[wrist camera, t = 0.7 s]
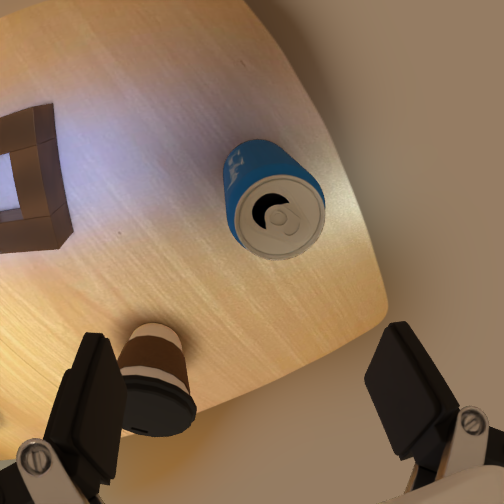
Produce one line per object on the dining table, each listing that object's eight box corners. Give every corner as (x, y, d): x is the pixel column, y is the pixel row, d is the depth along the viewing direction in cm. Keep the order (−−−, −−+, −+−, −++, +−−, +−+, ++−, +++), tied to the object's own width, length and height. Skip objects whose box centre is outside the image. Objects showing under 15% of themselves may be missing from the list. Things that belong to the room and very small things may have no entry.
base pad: (-35, 134, 22) (-56, 141, 18) (53, 103, 23) (32, 106, 19) (-12, 240, 28) (-28, 256, 25) (73, 231, 30) (59, 249, 26)
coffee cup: (183, 374, 42) (181, 445, 32) (111, 352, 39) (93, 423, 28) (210, 323, 38) (211, 404, 27) (124, 295, 34) (99, 373, 24)
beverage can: (252, 124, 27) (275, 145, 16) (303, 166, 29) (351, 212, 19) (209, 177, 29) (205, 230, 19) (260, 215, 31) (284, 282, 21)
